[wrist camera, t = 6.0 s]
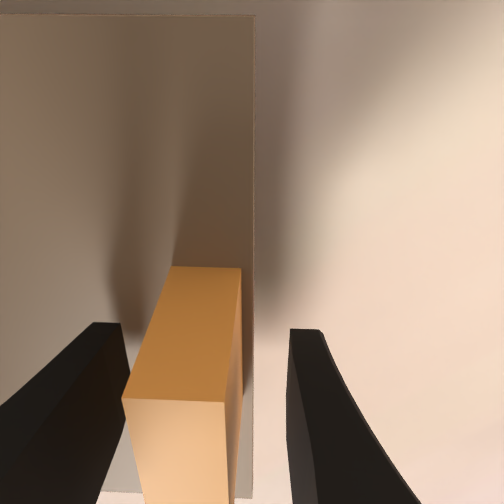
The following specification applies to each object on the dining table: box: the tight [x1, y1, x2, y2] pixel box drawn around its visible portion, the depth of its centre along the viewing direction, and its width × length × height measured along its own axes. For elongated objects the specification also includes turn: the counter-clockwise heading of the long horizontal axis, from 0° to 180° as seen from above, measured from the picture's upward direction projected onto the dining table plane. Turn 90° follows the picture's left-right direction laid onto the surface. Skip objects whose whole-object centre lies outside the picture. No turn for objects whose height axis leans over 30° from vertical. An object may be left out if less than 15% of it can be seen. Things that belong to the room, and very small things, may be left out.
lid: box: [0, 14, 255, 504], centre depth 9 cm, size 13×10×4 cm
